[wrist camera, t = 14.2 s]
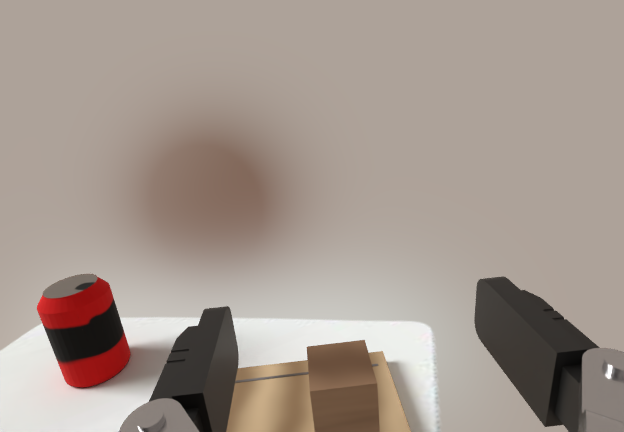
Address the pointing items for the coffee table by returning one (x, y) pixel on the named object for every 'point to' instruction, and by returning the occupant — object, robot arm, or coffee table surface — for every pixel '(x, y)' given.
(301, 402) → the board
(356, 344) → the block
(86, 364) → the soda can
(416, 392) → the coffee table surface
